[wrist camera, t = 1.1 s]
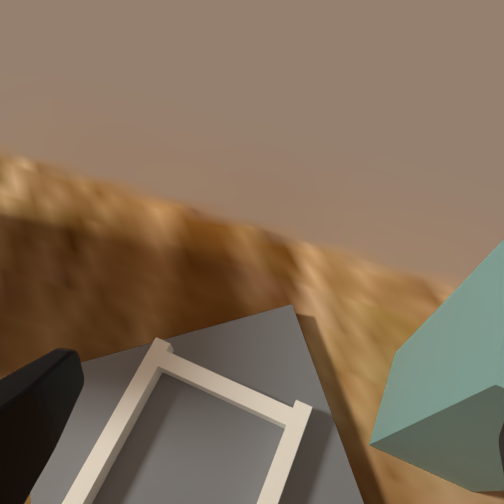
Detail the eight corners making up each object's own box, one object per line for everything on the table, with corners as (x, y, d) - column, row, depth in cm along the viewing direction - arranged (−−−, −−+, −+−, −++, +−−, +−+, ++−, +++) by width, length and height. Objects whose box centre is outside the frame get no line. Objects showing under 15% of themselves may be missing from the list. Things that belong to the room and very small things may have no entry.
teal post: (472, 491, 21) (792, 481, 8) (368, 444, 22) (517, 373, 9) (490, 391, 23) (762, 265, 11) (395, 352, 24) (543, 197, 12)
